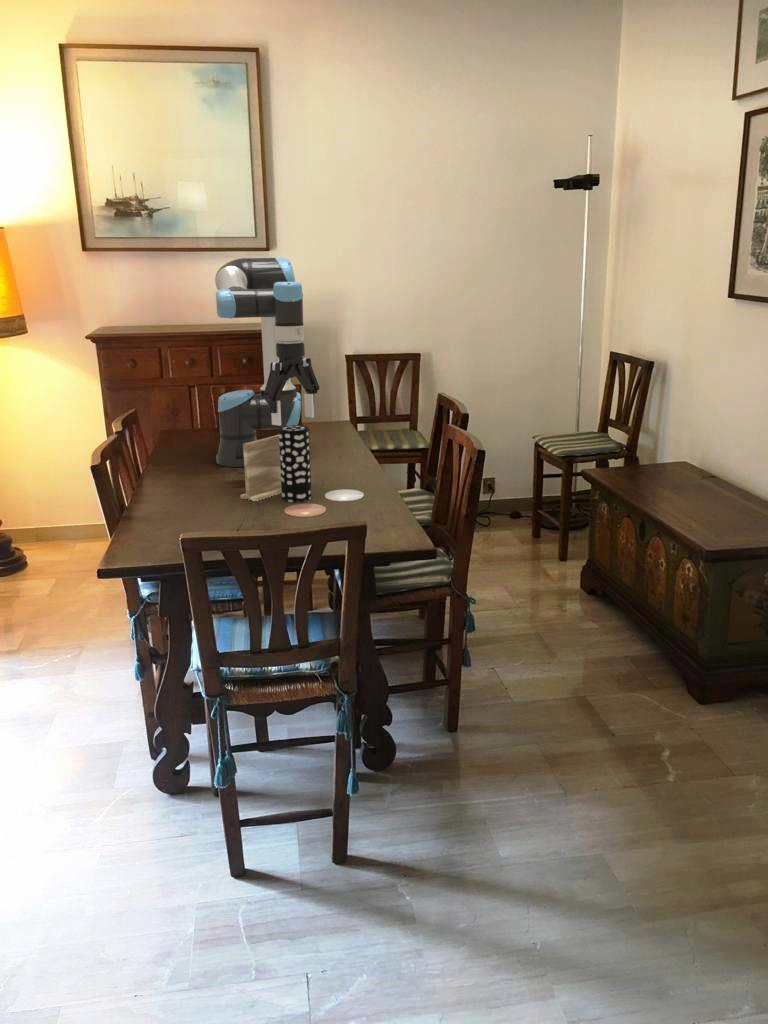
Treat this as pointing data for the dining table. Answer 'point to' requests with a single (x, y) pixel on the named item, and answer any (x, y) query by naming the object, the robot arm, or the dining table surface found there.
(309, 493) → the spotted tube
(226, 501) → the dining table surface
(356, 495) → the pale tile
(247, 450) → the birch shelf
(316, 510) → the pink round disc
